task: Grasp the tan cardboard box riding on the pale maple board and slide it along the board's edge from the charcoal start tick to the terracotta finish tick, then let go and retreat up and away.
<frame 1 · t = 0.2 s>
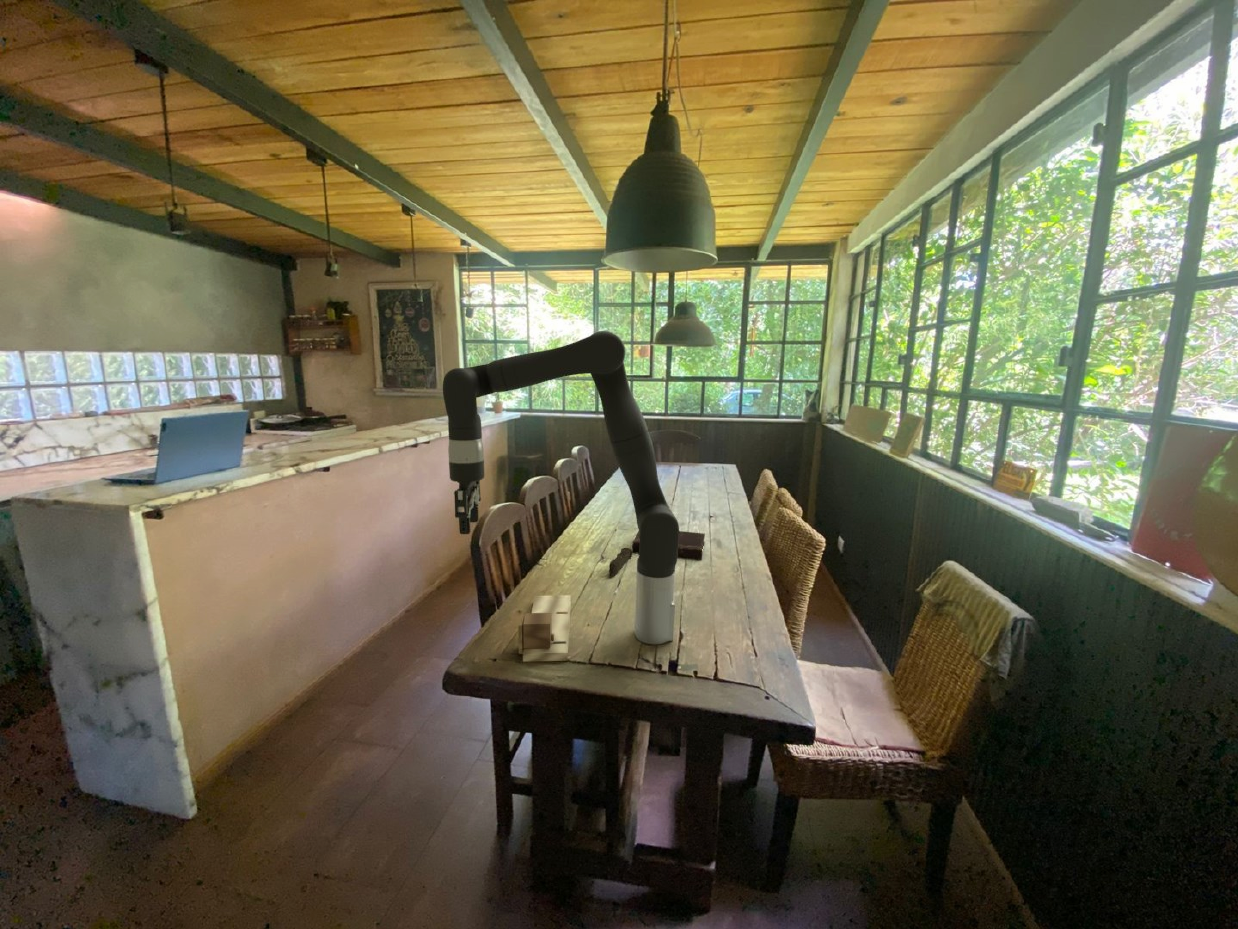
hand: (469, 527, 110), 28 cm above the table, fingers open, 8 cm apart
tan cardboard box: (537, 632, 111), point 5 cm above the table, slide at 0.0 cm
diary: (669, 549, 180), on the table
hand tool: (620, 568, 160), on the table
board: (549, 628, 121), on the table
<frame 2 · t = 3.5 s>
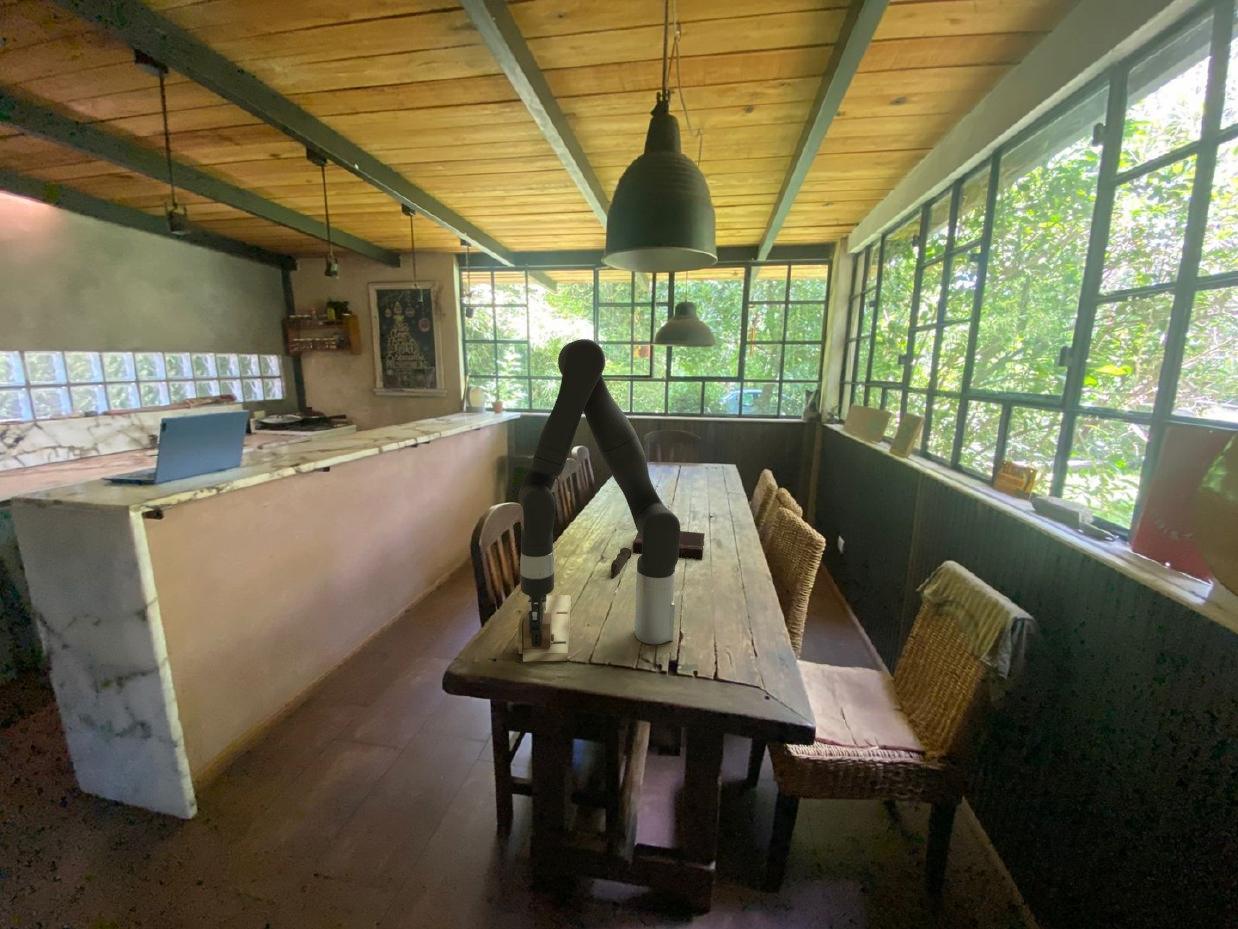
hand: (537, 638, 111), 3 cm above the table, fingers closed on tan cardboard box, 5 cm apart
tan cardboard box: (537, 633, 111), point 5 cm above the table, slide at 0.0 cm, touching gripper
everything else where it was.
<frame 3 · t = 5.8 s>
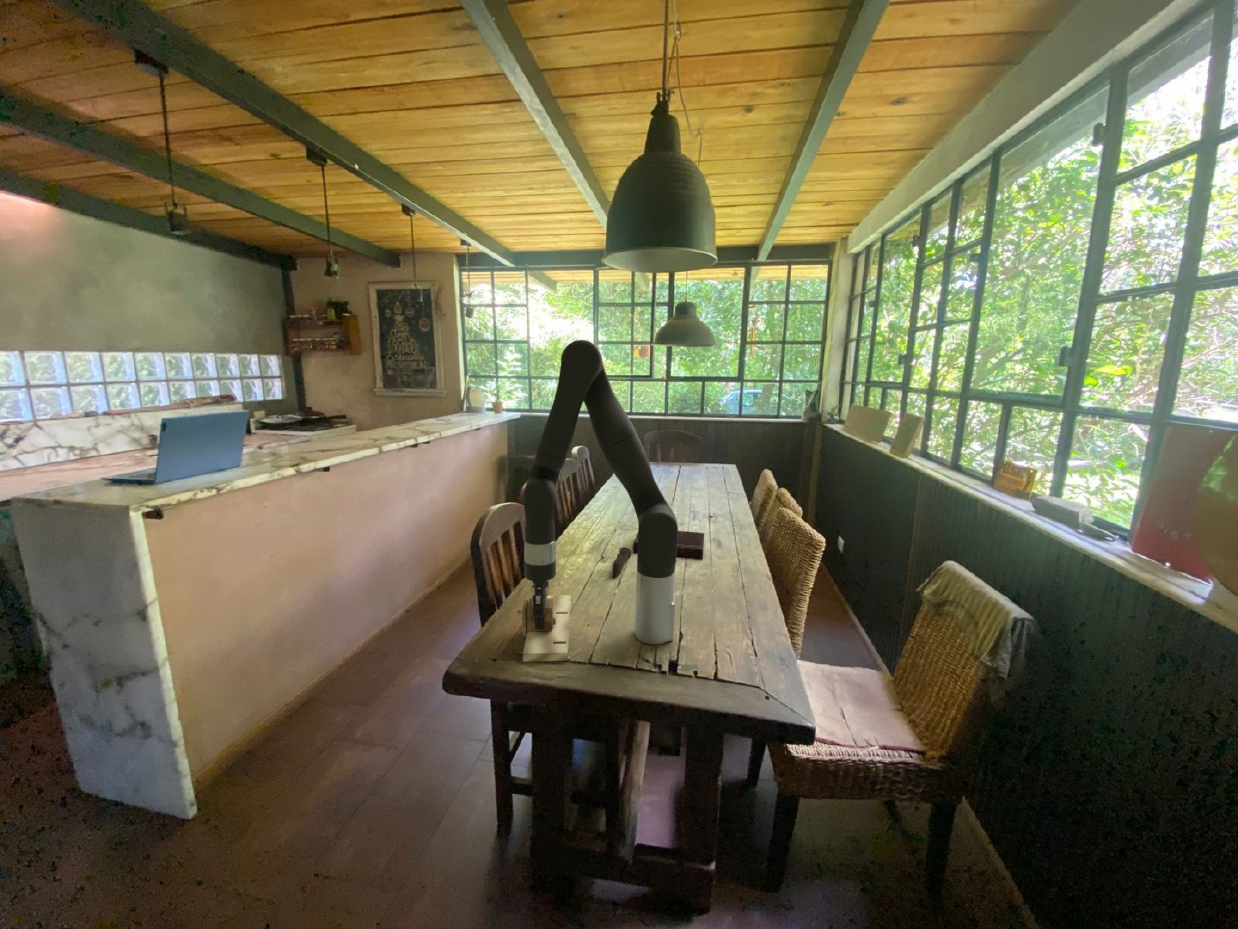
hand: (540, 622, 118), 3 cm above the table, fingers closed on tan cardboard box, 5 cm apart
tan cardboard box: (539, 617, 118), point 5 cm above the table, slide at 7.3 cm, touching gripper
everything else where it was.
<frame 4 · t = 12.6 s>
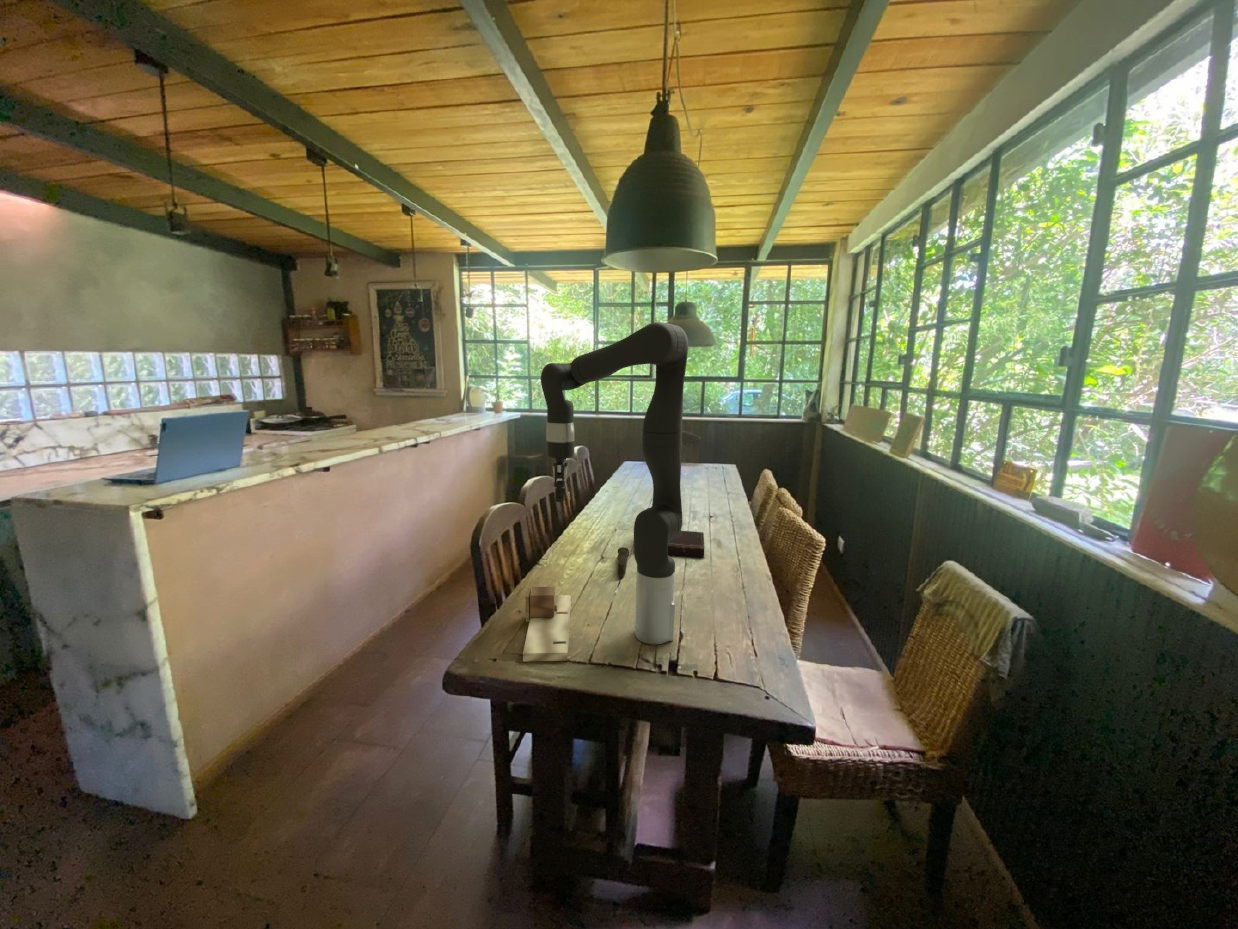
hand: (560, 497, 131), 30 cm above the table, fingers open, 8 cm apart
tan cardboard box: (542, 604, 124), point 5 cm above the table, slide at 13.9 cm
at the end: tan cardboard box slide at 13.9 cm; the gripper is holding nothing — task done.
